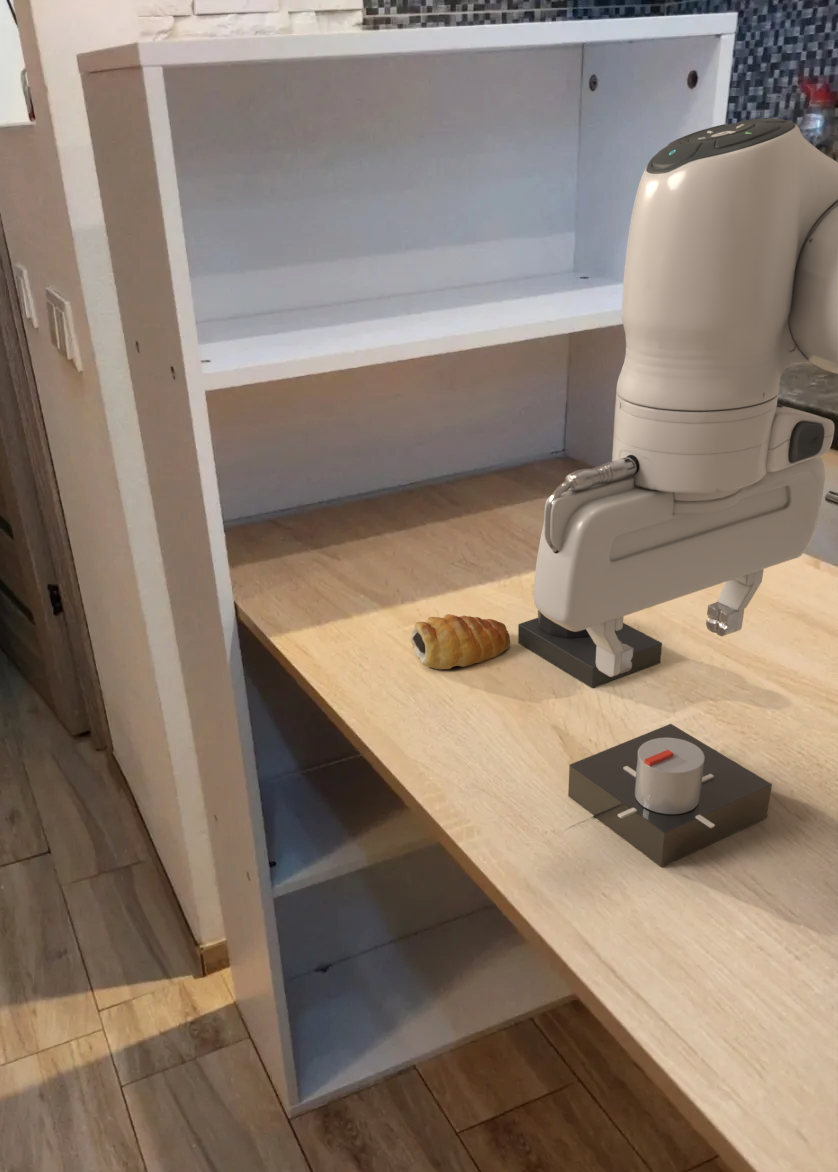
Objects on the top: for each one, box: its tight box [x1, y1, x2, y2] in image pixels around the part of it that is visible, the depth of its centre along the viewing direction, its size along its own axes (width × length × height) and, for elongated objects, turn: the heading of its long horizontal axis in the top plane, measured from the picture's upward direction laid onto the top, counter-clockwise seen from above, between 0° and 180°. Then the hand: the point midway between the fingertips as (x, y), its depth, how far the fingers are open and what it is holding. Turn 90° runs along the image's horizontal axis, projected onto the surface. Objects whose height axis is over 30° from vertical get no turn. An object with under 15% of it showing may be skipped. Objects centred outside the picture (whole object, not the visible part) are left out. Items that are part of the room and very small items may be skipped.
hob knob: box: [635, 738, 705, 814], centre depth 71 cm, size 4×4×4 cm
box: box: [517, 609, 663, 689], centre depth 96 cm, size 8×11×4 cm
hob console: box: [567, 723, 773, 868], centre depth 75 cm, size 11×11×3 cm
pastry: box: [409, 613, 511, 671], centre depth 98 cm, size 9×7×4 cm
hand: (669, 650), depth 67 cm, fingers open, 8 cm apart
